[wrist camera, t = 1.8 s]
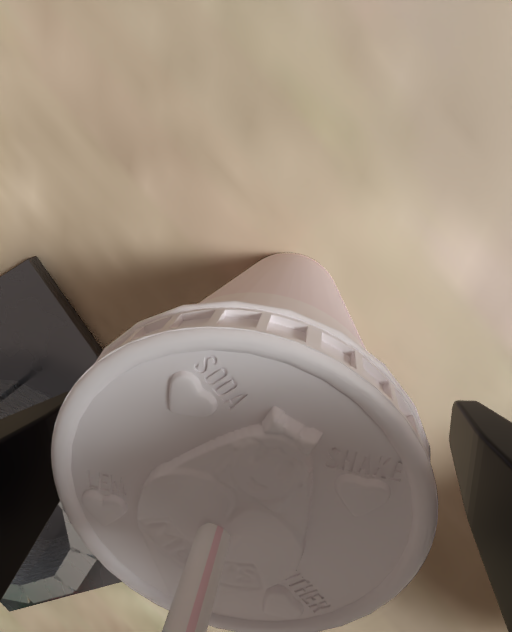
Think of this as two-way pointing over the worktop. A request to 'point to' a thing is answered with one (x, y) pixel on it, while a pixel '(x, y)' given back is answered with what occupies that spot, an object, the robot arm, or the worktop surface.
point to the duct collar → (35, 387)
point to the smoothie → (249, 460)
